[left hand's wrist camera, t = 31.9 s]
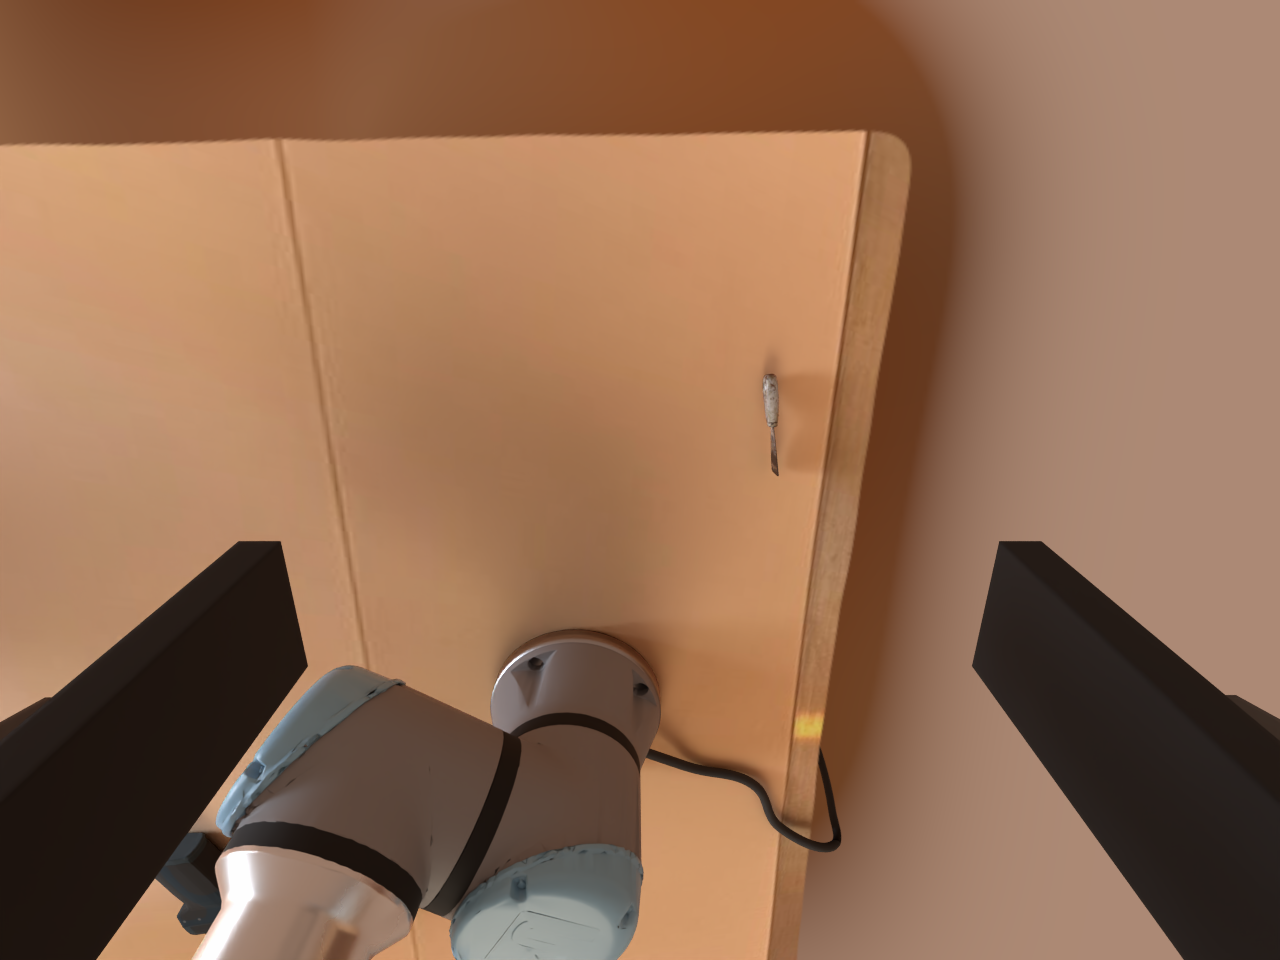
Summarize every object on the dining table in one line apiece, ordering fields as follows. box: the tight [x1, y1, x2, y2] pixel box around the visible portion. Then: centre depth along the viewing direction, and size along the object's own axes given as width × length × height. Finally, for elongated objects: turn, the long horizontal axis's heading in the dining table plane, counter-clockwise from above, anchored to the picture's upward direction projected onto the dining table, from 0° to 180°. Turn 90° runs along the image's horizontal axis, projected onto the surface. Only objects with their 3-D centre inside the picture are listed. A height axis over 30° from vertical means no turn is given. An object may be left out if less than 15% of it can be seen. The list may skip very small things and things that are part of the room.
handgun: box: [155, 833, 222, 935], centre depth 70 cm, size 3×17×12 cm
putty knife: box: [763, 374, 779, 476], centre depth 52 cm, size 1×8×2 cm, turn 8°
